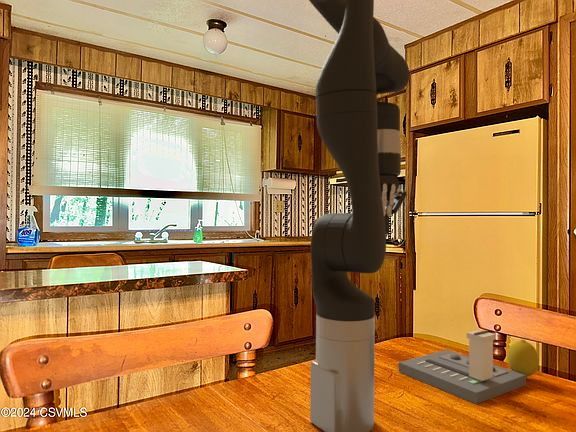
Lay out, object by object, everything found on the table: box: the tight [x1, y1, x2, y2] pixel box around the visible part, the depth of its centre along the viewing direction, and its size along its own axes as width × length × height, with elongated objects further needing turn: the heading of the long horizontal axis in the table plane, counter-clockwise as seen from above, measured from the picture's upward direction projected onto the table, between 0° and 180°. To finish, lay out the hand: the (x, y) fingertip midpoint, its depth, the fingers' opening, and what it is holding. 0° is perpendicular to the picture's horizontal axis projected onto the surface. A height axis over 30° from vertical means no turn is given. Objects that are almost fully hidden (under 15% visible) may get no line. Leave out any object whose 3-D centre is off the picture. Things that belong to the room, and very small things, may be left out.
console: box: [398, 349, 527, 405], centre depth 86 cm, size 16×18×3 cm
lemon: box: [507, 339, 540, 378], centre depth 86 cm, size 6×6×8 cm
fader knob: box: [466, 329, 497, 381], centre depth 80 cm, size 4×3×8 cm
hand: (382, 234), depth 91 cm, fingers closed
